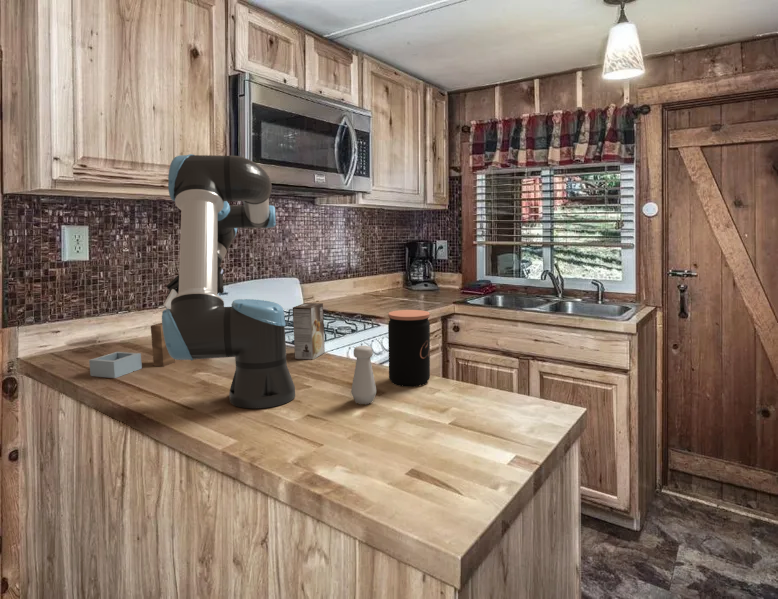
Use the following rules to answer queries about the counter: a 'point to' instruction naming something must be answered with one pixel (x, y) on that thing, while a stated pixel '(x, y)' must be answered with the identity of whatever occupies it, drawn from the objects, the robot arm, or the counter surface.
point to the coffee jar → (409, 347)
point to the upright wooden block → (160, 347)
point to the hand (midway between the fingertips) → (184, 308)
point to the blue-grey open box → (115, 364)
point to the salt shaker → (363, 376)
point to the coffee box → (308, 330)
